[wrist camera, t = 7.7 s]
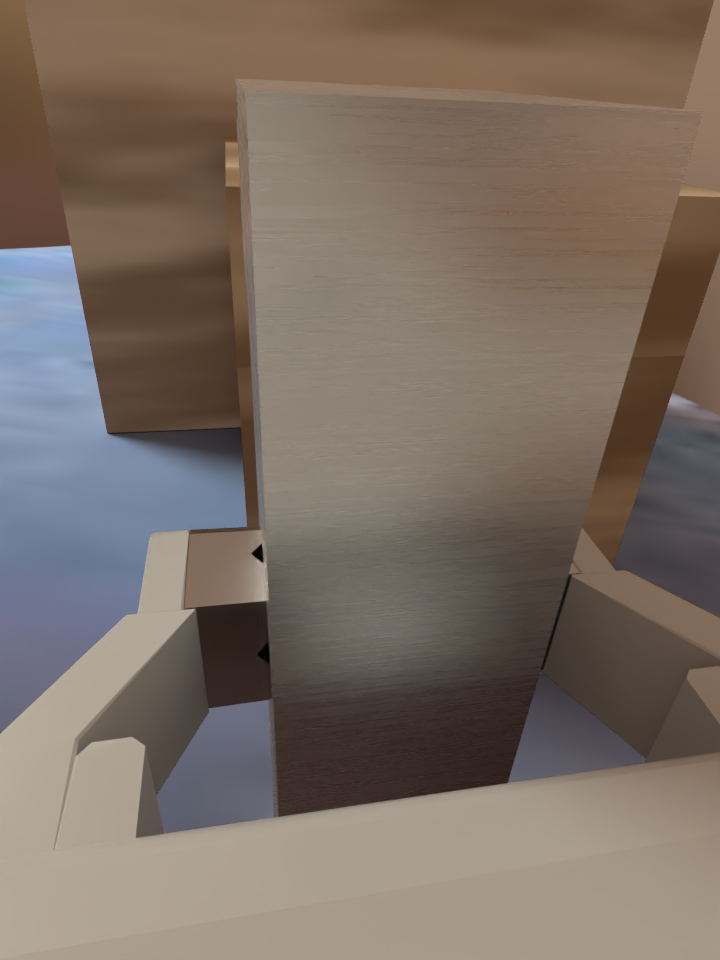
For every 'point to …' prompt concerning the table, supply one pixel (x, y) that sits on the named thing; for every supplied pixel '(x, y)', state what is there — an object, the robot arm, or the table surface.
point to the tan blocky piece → (216, 185)
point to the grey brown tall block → (432, 404)
